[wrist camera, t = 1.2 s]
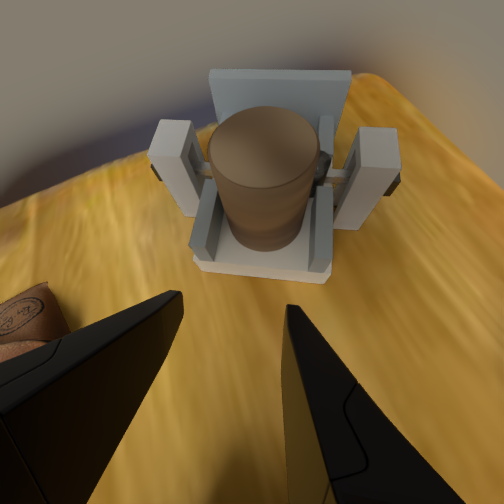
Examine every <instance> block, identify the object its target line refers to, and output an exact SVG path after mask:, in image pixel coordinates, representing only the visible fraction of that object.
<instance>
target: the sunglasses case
mask: <svg viewBox="0 0 504 504" xmlns="http://www.w3.org/2000/svg"><path fill="white" fill-rule="evenodd" d="M47 285H48V282H44V283H41V284H38V285H36V286H34V287H32V288H30V289H28V290H26V291H24V292H22V293H20V294H19V295H17V296H15V297H13V298H11V299H9V300H7V301H6V302H4V303H2V304H0V363H1V362H3V361H6V360H8V359H11V358H13V357H16V356H18V355H21V354H23V353H26V352H28V351H30V350H33V349H35V348H38V347H40V346H42V345H45V344H47V343H49V342H52V341H54V340H56V339H58V338H63V336H65V335H68V334H70V333H71V332H70V330H69V328H68V325H67V323H66V321H65V319H64V317H63V314H62V312H61V310H60V308H59V306H58V303H57V301H56V299H55V297H54V295H53V294H52V292H51V291H50V289H49V288H48V286H47Z"/></svg>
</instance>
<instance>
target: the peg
mask: <svg viewBox="0 0 504 504" xmlns="http://www.w3.org/2000/svg"><path fill="white" fill-rule="evenodd" d="M319 155H320V141H319V137H318V135H317V132H316V131H315V129H314V127H313V126H312V125H311V124H310V123H309V122H308V121H307V120H306V119H304V118H303V117H301V116H300V115H298V114H297V113H295V112H293V111H290V110H288V109H284V108H280V107H273V106H260V107H253V108H248V109H245V110H242V111H240V112H237V113H235V114H233V115H232V116H230V117H229V118H227V119H226V120H225V121H224V122H222V123H221V124H220V125H219V126H218V127H217V128H216V130H215V131H214V132H213V134H212V136H211V138H210V141H209V144H208V160H209V163H210V166H211V170H212V173H213V176H214V179H215V182H216V185H217V189H218V192H219V195H220V198H221V201H222V204H223V208H224V211H225V214H226V217H227V220H228V223H229V227H230V230H231V232H232V234H233V236H234V237H235V239H236V240H237V241H238V242H239V243H240V244H242V245H243V246H245V247H246V248H249V249H251V250H254V251H259V252H271V251H276V250H279V249H282V248H284V247H286V246H287V245H289V244H290V243H291V242H292V241H293V240H294V239H295V238H296V237H297V235H298V234H299V232H300V230H301V227H302V223H303V219H304V215H305V211H306V207H307V203H308V199H309V195H310V191H311V187H312V183H313V179H314V175H315V171H316V167H317V163H318V159H319Z"/></svg>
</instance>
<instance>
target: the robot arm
mask: <svg viewBox="0 0 504 504" xmlns="http://www.w3.org/2000/svg"><path fill="white" fill-rule="evenodd" d="M183 315H184V306H183V295H182V292H181V291H175V290H169V291H166V292H164V293H162V294H159V295H157V296H155V297H153V298H150V299H148V300H146V301H143V302H141V303H139V304H137V305H134V306H132V307H130V308H127V309H125V310H123V311H120V312H118V313H116V314H114V315H111V316H109V317H107V318H104V319H102V320H100V321H98V322H95V323H93V324H91V325H88V326H86V327H84V328H81V329H79V330H77V331H75V332H72V333H70V334H68V335H65V336H63V338H58V339H56V340H54V341H52V342H49V343H47V344H45V345H42V346H40V347H38V348H35V349H33V350H30V351H28V352H26V353H23V354H21V355H18V356H16V357H13V358H11V359H8V360H6V361H3V362H1V363H0V504H87V502H88V500H89V498H90V496H91V494H92V493H93V491H94V489H95V487H96V485H97V483H98V482H99V480H100V478H101V476H102V474H103V473H104V471H105V469H106V467H107V465H108V463H109V462H110V460H111V458H112V456H113V454H114V452H115V451H116V449H117V447H118V445H119V443H120V441H121V440H122V438H123V436H124V434H125V432H126V430H127V429H128V427H129V425H130V423H131V421H132V419H133V418H134V416H135V414H136V412H137V410H138V408H139V407H140V405H141V403H142V401H143V399H144V397H145V396H146V394H147V392H148V390H149V388H150V386H151V385H152V383H153V381H154V379H155V377H156V375H157V374H158V372H159V370H160V368H161V366H162V365H163V363H164V361H165V359H166V357H167V355H168V352H169V350H170V348H171V345H172V343H173V340H174V338H175V335H176V333H177V331H178V328H179V326H180V323H181V321H182V318H183ZM281 387H282V403H283V419H284V435H285V451H286V467H287V483H288V499H289V504H466V503H465V502H464V501H463V500H462V499H461V498H460V497H459V496H458V494H457V493H456V492H455V491H454V490H453V489H452V488H451V487H450V486H449V485H448V484H447V483H446V481H445V480H444V479H443V478H442V477H441V476H440V475H439V474H438V473H437V472H436V471H435V470H434V468H433V467H432V466H431V465H430V464H429V463H428V462H427V461H426V460H425V459H424V458H423V456H422V455H421V454H420V453H419V452H418V451H417V450H416V449H415V448H414V447H413V446H412V445H411V443H410V442H409V441H408V440H407V439H406V438H405V437H404V436H403V435H402V434H401V432H400V431H399V430H398V429H397V428H396V427H395V426H394V425H393V423H392V422H391V421H390V420H389V419H388V418H387V417H386V416H385V414H384V413H383V412H382V411H381V409H380V408H379V407H378V406H377V405H376V403H375V402H374V401H373V400H372V398H371V397H370V396H369V395H368V393H367V392H366V391H365V390H364V388H363V387H362V386H361V384H360V383H358V381H357V379H356V378H355V377H354V376H353V374H352V373H351V372H350V370H349V369H348V368H347V367H346V365H345V364H344V363H343V361H342V360H341V359H340V358H339V356H338V355H337V354H336V352H335V351H334V350H333V349H332V347H331V346H330V345H329V343H328V342H327V341H326V340H325V338H324V337H323V336H322V334H321V333H320V332H319V331H318V329H317V328H316V327H315V325H314V324H313V323H312V322H311V320H310V319H309V318H308V316H307V315H306V314H305V313H304V311H303V310H302V309H301V307H300V306H298V305H291V304H287V305H286V311H285V319H284V328H283V344H282V360H281Z"/></svg>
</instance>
